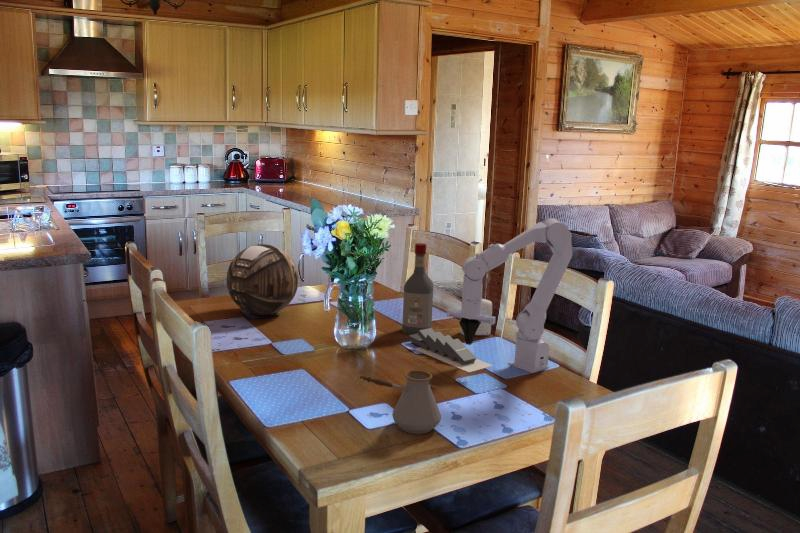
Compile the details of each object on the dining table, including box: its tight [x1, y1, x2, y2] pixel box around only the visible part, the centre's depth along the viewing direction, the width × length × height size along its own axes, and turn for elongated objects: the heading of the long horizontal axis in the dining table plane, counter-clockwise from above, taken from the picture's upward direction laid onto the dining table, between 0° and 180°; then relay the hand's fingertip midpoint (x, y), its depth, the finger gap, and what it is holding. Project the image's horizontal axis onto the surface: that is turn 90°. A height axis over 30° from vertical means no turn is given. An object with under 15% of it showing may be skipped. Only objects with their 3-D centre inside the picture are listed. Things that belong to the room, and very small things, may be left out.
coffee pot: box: [356, 369, 442, 435], centre depth 160 cm, size 21×12×15 cm, turn 120°
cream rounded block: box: [460, 298, 493, 336], centre depth 234 cm, size 10×4×12 cm, turn 98°
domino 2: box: [418, 327, 438, 353], centre depth 218 cm, size 2×5×9 cm
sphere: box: [226, 243, 300, 316], centre depth 247 cm, size 25×25×25 cm
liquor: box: [401, 242, 434, 336], centre depth 233 cm, size 9×9×30 cm
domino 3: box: [426, 330, 448, 357], centre depth 215 cm, size 2×5×9 cm
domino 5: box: [444, 338, 477, 365], centre depth 209 cm, size 2×5×9 cm
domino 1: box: [408, 333, 431, 350], centre depth 221 cm, size 2×5×9 cm
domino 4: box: [435, 334, 457, 361], centre depth 212 cm, size 2×5×9 cm
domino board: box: [414, 347, 494, 373], centre depth 211 cm, size 24×10×1 cm, turn 39°
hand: (469, 343), depth 205 cm, fingers closed
